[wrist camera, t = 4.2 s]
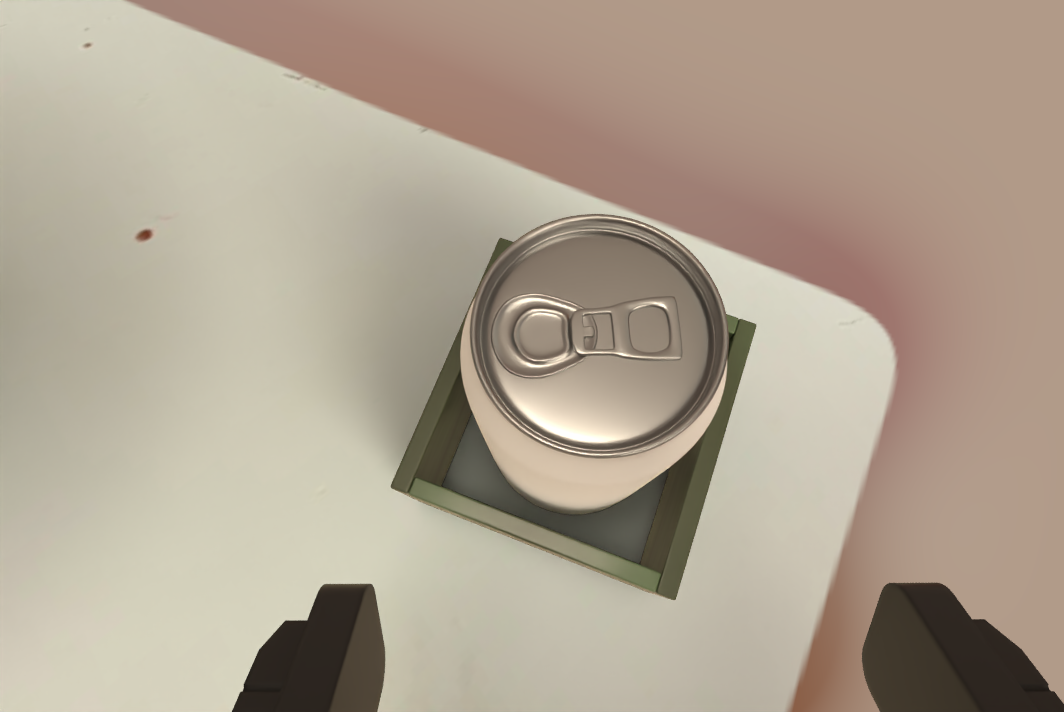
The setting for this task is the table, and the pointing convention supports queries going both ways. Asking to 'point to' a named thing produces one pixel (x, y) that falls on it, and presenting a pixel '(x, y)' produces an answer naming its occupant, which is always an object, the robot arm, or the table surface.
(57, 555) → the table surface
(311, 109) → the table surface
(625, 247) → the can
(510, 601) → the table surface
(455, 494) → the caddy
